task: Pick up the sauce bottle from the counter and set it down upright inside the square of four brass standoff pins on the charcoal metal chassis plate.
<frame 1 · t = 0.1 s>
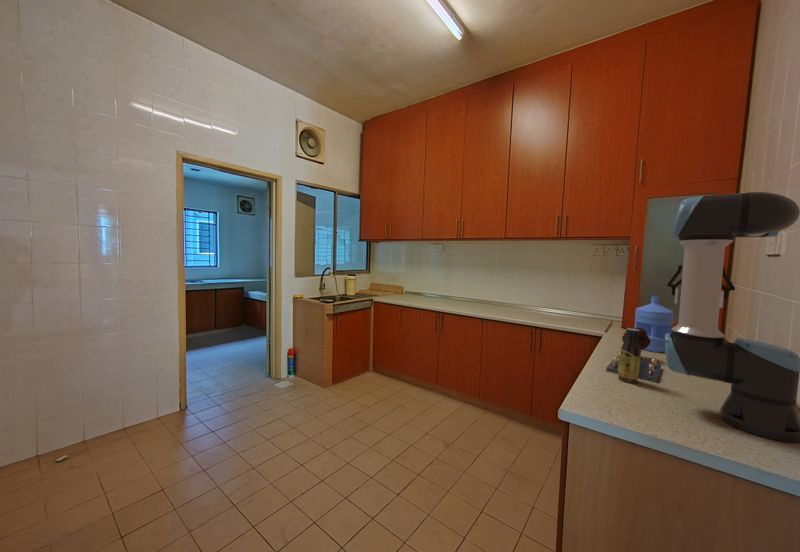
hand: (697, 305, 128), 28 cm above the counter, tool pointing down, fingers open, 13 cm apart
water jug: (651, 349, 163), on the counter
ice cream bowl: (634, 358, 145), on the counter
sauce bottle: (628, 381, 116), on the counter
chassis: (634, 369, 129), on the counter
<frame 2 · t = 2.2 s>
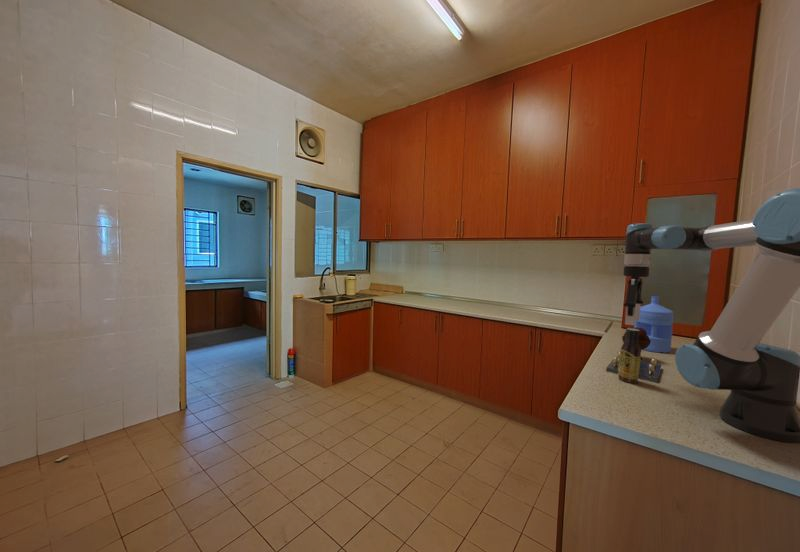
hand: (632, 322, 115), 22 cm above the counter, tool pointing down, fingers open, 13 cm apart
nothing on the counter moved.
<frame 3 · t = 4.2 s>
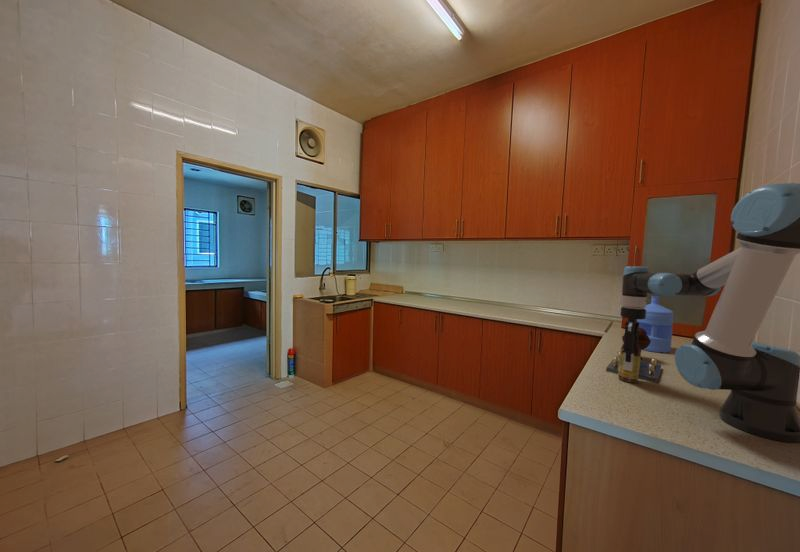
hand: (629, 367, 116), 5 cm above the counter, tool pointing down, fingers closed on sauce bottle, 6 cm apart
sauce bottle: (628, 381, 116), on the counter, touching gripper
everything else where it was.
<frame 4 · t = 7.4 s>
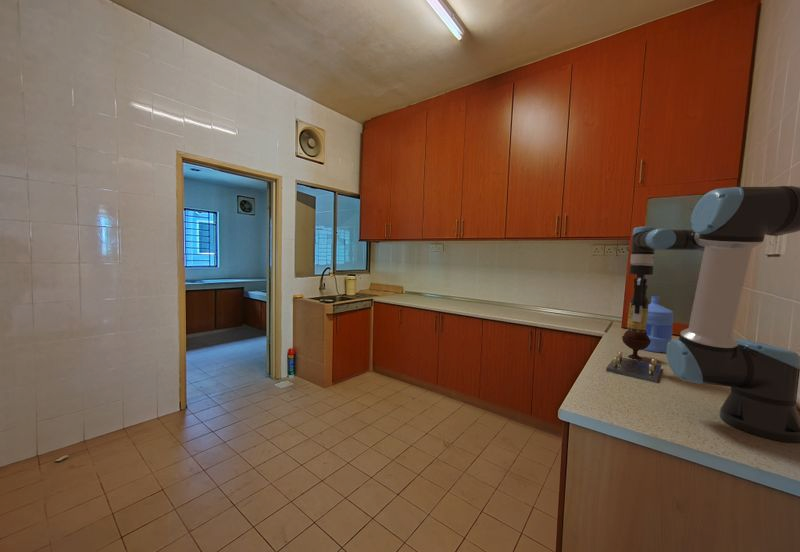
hand: (637, 320, 127), 21 cm above the counter, tool pointing down, fingers closed on sauce bottle, 6 cm apart
sauce bottle: (636, 332, 128), point 16 cm above the counter, touching gripper
everything else where it was.
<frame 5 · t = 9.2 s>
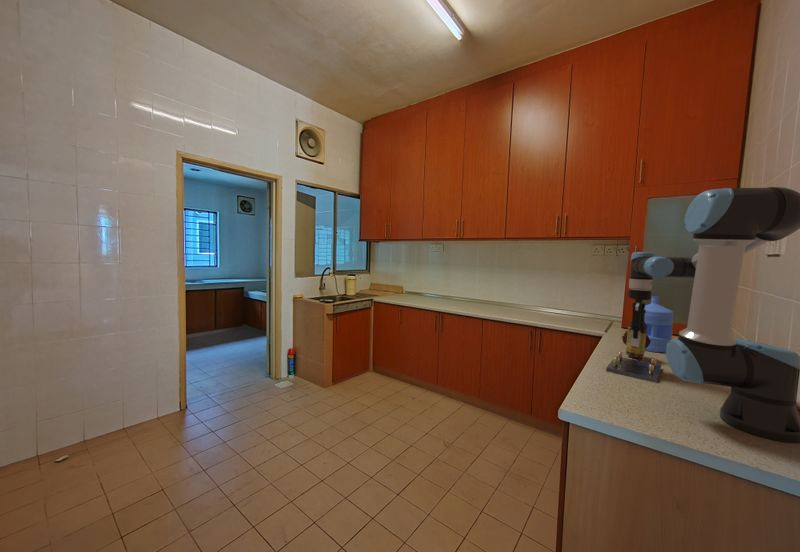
hand: (635, 344, 128), 11 cm above the counter, tool pointing down, fingers closed on sauce bottle, 6 cm apart
sauce bottle: (634, 356, 129), point 6 cm above the counter, touching gripper
everything else where it was.
when the fingers open (8 cm above the counter, at t = 10.5 s): sauce bottle drops 2 cm, resting on chassis.
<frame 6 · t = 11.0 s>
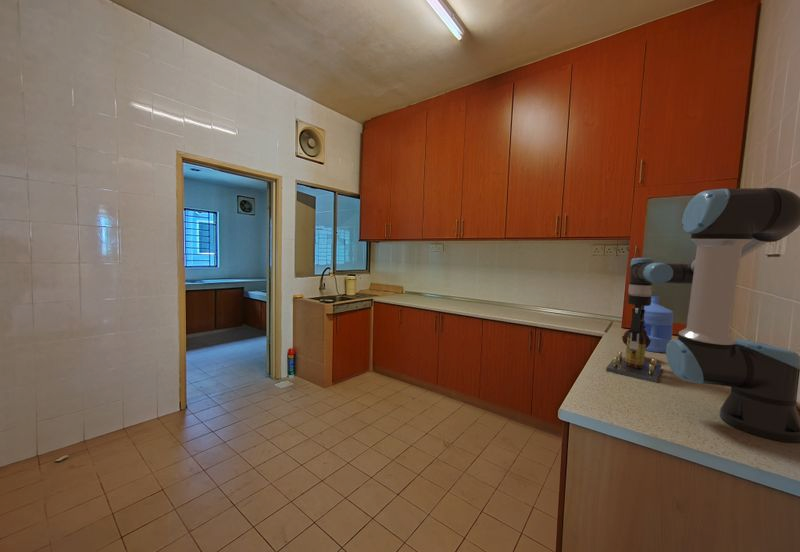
hand: (635, 346, 128), 10 cm above the counter, tool pointing down, fingers open, 13 cm apart
sauce bottle: (634, 366, 129), point 1 cm above the counter, touching chassis
everything else where it was.
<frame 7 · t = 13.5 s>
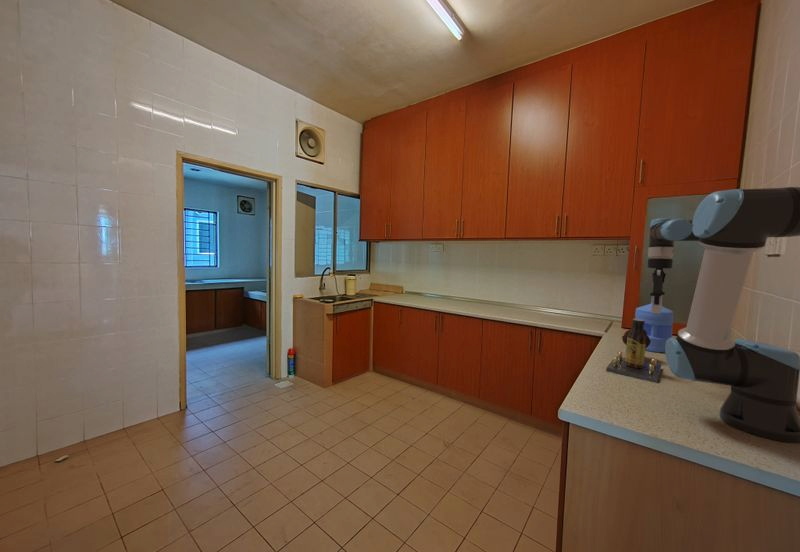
hand: (656, 311, 122), 26 cm above the counter, tool pointing down, fingers open, 13 cm apart
nothing on the counter moved.
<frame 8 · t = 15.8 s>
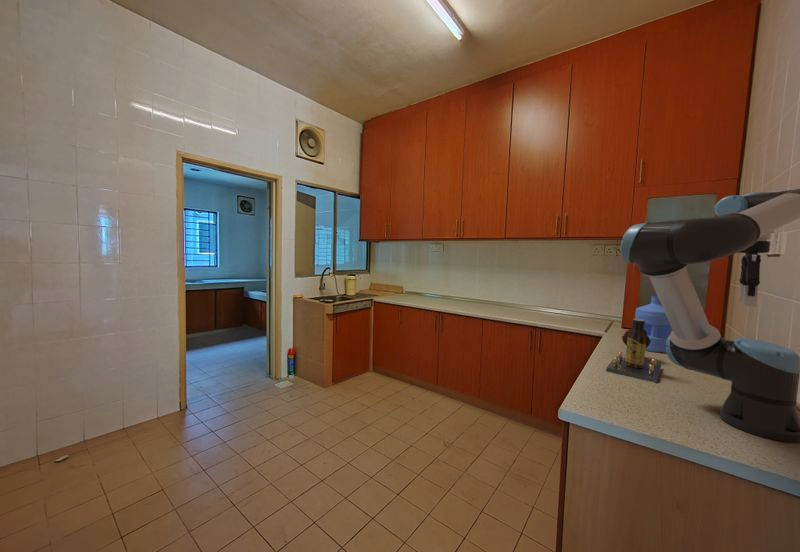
hand: (746, 304, 103), 32 cm above the counter, tool pointing down, fingers open, 13 cm apart
nothing on the counter moved.
at the end: sauce bottle 0.0 cm off-centre on the chassis, point 1.3 cm above the chassis's base; sauce bottle tilted 0°; the gripper is holding nothing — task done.
